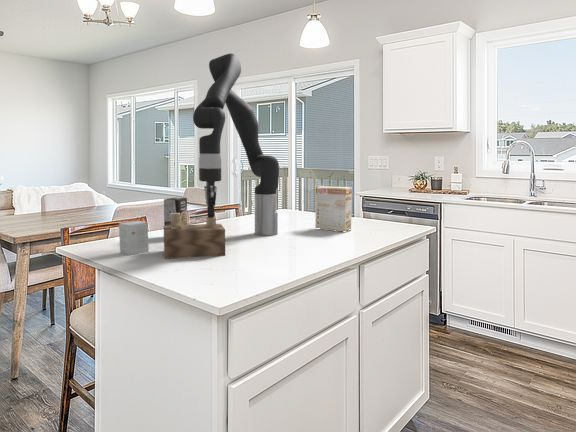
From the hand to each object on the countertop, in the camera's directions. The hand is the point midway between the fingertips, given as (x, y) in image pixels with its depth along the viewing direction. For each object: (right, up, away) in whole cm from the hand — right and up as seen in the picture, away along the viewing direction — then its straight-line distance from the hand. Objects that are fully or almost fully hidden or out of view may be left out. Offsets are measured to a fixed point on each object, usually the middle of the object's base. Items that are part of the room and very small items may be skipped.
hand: (210, 217), depth 159 cm
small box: (-27, -12, +1) cm, 29 cm away
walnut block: (-6, -12, 0) cm, 14 cm away
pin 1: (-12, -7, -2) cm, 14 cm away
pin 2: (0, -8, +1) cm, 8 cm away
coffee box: (-19, -9, +27) cm, 34 cm away
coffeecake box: (+47, -6, +48) cm, 68 cm away
